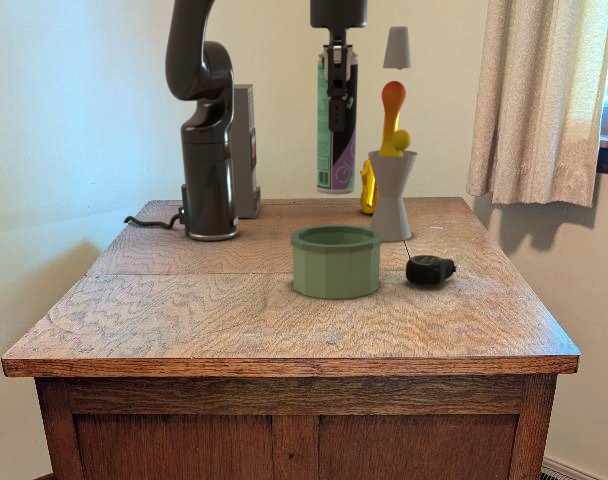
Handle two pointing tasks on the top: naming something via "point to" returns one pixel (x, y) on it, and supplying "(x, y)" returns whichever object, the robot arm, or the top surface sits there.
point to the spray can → (336, 136)
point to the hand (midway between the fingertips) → (336, 127)
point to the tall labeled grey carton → (244, 153)
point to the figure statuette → (370, 183)
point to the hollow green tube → (336, 261)
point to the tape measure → (429, 269)
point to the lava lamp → (393, 148)
